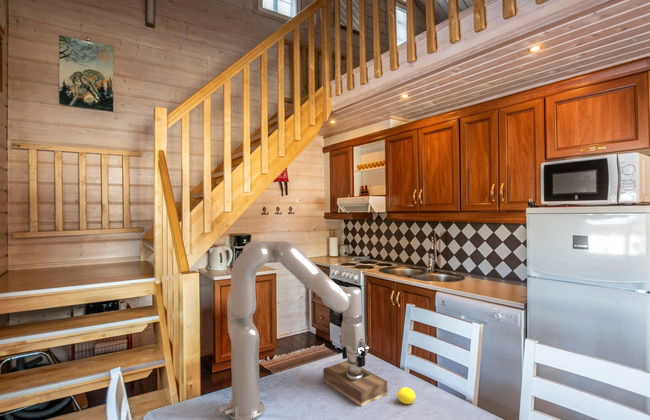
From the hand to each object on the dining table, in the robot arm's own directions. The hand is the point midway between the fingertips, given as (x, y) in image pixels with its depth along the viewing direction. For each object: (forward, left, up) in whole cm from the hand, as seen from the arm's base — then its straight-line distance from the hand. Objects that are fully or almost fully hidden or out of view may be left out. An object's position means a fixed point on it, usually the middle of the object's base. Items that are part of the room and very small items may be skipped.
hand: (353, 362), depth 140 cm
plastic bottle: (0, -1, -9) cm, 9 cm away
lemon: (+8, -20, -10) cm, 24 cm away
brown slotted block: (0, 0, -10) cm, 10 cm away
